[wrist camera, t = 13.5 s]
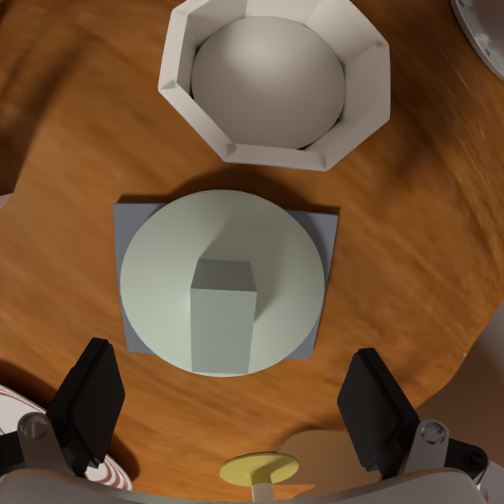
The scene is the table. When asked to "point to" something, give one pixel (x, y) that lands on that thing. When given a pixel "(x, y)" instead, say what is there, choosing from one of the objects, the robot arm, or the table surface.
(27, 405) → the dinner plate
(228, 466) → the candle
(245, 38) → the bowl
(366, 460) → the robot arm
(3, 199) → the greeting card
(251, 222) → the lid
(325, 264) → the mat
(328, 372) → the table surface
